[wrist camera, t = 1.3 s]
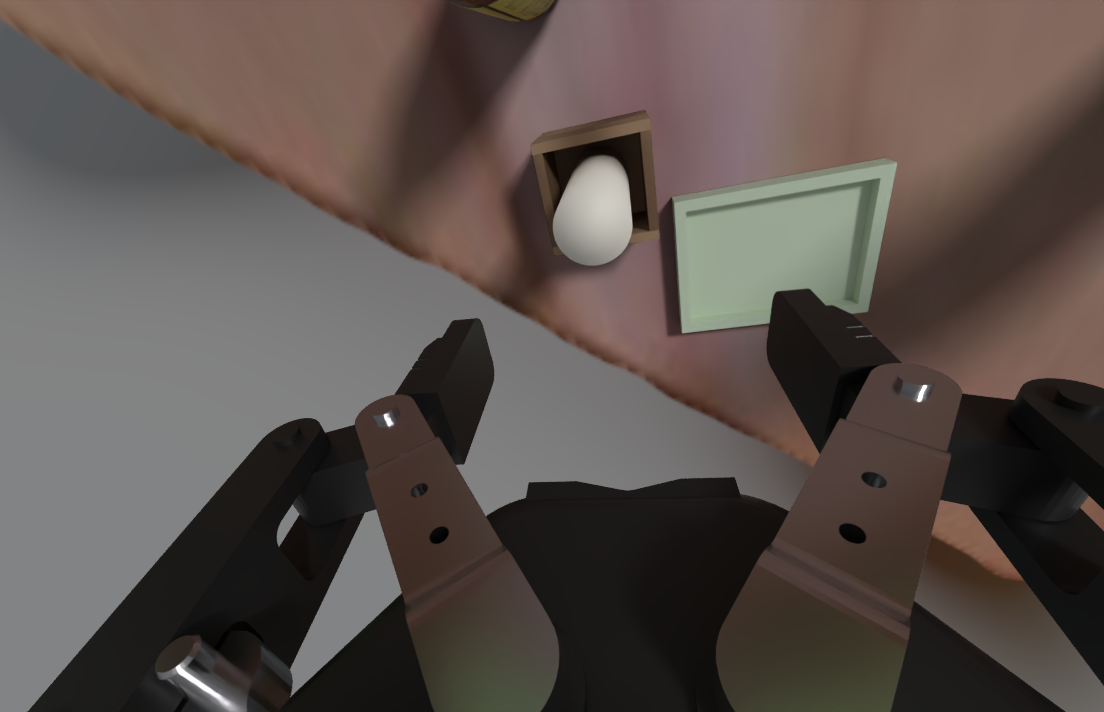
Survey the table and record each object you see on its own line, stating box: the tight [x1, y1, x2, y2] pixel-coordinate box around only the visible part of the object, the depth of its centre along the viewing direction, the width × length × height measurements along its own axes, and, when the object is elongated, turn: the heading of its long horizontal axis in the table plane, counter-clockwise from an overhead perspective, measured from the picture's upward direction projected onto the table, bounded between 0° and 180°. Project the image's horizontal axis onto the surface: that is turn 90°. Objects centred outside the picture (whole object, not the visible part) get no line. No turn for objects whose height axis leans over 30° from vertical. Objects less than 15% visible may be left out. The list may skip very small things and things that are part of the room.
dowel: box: [553, 147, 632, 266], centre depth 27 cm, size 4×4×12 cm
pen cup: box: [530, 110, 660, 256], centre depth 30 cm, size 7×7×6 cm
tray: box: [672, 158, 897, 333], centre depth 33 cm, size 14×11×2 cm
